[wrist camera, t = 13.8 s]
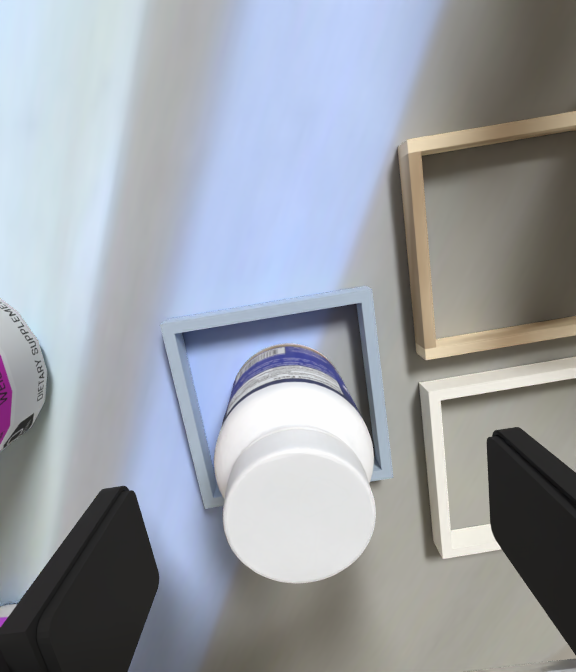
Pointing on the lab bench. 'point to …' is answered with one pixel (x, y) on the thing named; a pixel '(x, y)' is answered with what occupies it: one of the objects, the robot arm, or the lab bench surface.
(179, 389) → the tray slate
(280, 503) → the pill bottle
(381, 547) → the lab bench surface
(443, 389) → the tray white
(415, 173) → the tray birch
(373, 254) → the lab bench surface
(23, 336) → the supplement can
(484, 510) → the lab bench surface
